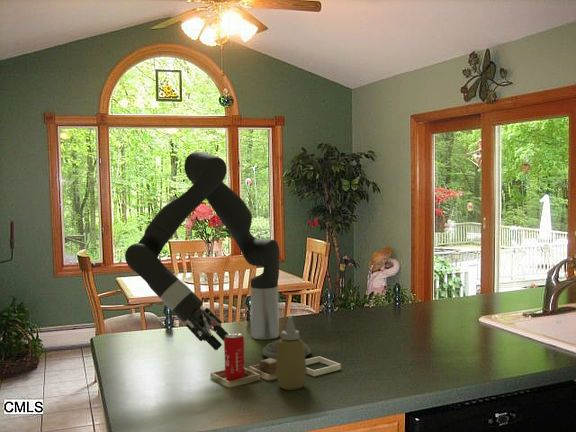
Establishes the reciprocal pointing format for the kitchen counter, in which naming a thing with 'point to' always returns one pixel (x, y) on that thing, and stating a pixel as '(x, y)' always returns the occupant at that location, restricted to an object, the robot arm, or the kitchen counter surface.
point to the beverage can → (234, 356)
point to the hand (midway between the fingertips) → (223, 343)
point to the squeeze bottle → (290, 358)
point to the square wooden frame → (262, 373)
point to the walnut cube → (268, 365)
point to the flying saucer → (271, 350)
